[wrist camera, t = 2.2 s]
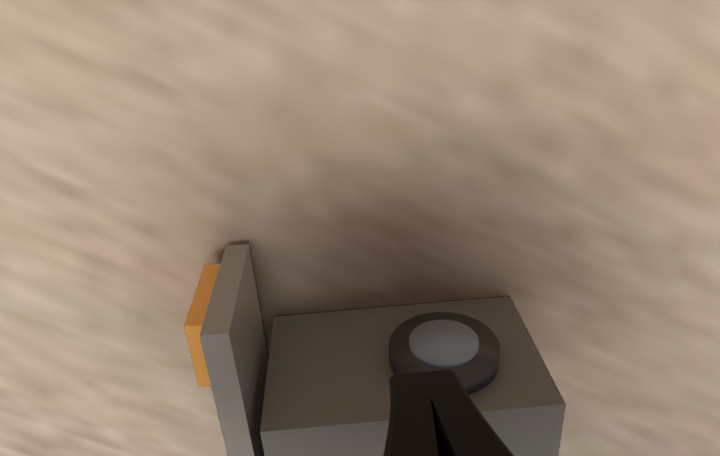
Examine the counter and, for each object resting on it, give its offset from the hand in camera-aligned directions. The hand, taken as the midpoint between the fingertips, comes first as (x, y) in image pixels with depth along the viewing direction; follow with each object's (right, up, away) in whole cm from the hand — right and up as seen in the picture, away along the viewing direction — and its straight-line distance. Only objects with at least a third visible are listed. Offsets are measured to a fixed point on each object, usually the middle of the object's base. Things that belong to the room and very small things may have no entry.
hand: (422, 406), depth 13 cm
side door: (-5, -3, +8) cm, 10 cm away
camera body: (0, -3, +9) cm, 10 cm away
